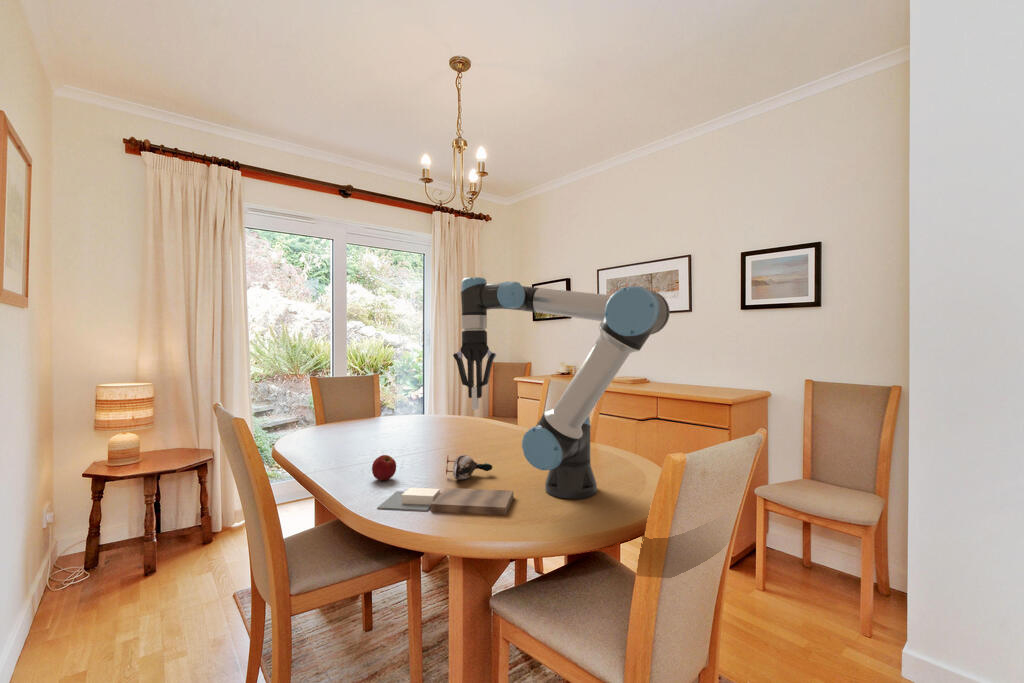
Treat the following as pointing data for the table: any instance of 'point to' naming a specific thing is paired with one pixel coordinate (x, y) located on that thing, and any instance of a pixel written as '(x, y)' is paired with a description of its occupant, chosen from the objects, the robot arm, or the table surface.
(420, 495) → the tile
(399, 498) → the mat
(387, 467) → the apple
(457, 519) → the table surface
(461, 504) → the brown wooden board
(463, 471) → the decorative duck model
